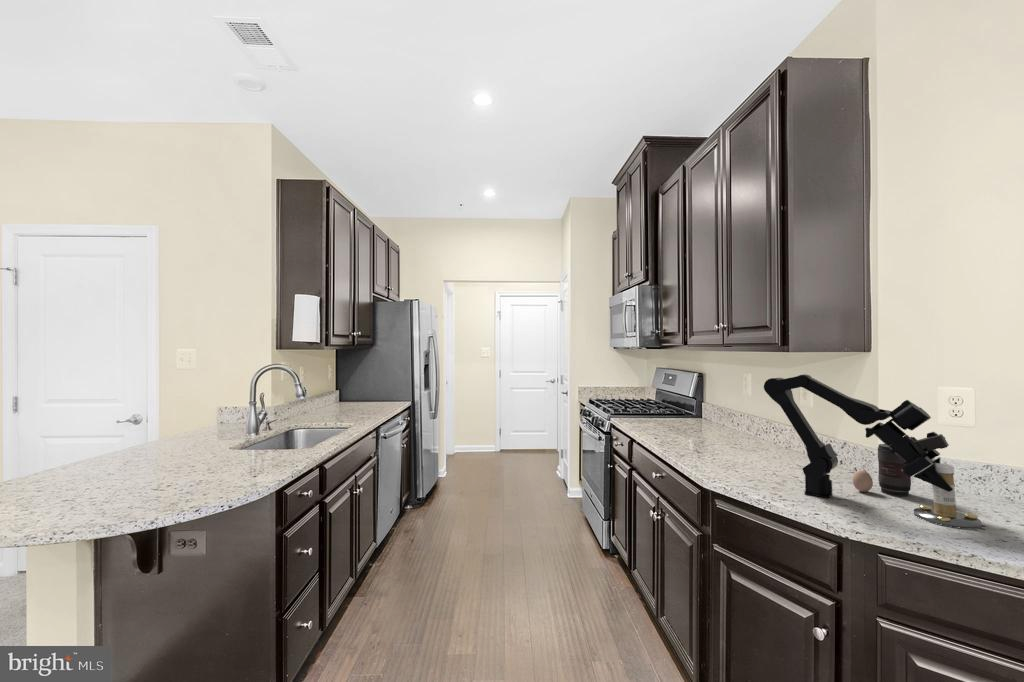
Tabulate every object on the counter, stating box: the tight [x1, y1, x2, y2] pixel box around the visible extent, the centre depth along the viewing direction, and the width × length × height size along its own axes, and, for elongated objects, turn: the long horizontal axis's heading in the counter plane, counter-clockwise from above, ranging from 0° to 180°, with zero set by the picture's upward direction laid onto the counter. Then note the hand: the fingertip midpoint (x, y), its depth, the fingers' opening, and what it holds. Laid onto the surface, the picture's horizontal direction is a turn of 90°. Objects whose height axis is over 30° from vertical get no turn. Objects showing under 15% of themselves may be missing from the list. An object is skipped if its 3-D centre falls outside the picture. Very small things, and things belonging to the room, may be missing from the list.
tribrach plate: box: [913, 504, 983, 529], centre depth 121 cm, size 13×13×2 cm
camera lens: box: [877, 443, 912, 497], centre depth 144 cm, size 8×8×15 cm
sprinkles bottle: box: [931, 462, 957, 518], centre depth 121 cm, size 5×5×13 cm
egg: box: [852, 469, 874, 493], centre depth 145 cm, size 5×5×7 cm
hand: (952, 488), depth 120 cm, fingers open, 5 cm apart
